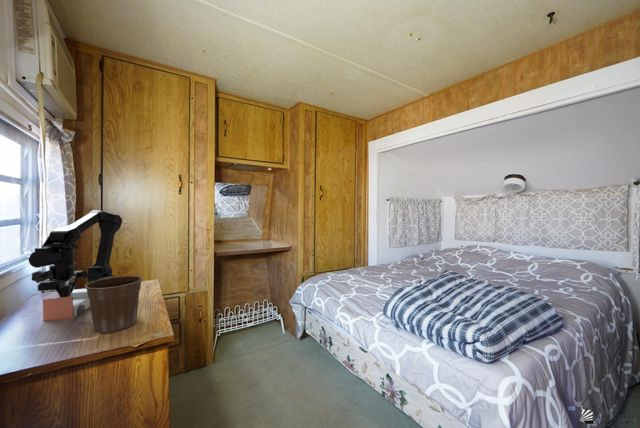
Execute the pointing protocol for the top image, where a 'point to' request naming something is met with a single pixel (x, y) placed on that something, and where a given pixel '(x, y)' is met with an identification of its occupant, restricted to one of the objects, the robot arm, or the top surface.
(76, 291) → the white stepped block
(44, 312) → the tailgate
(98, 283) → the plant pot
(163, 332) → the top surface
